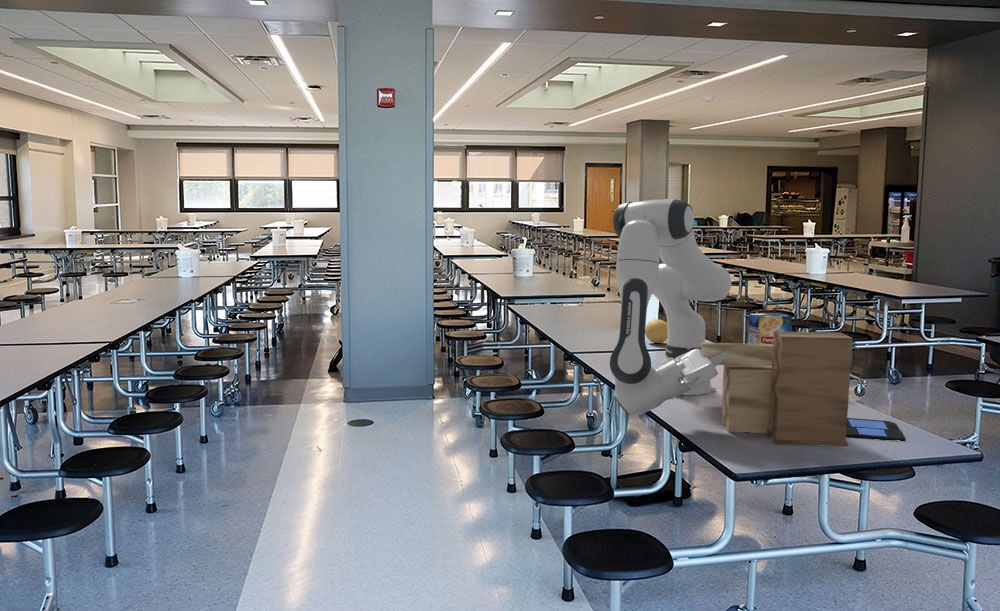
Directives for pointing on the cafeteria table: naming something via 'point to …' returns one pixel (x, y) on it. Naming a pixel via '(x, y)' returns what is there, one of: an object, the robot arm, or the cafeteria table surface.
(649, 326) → the stress ball
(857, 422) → the game console
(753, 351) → the maple batten
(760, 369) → the oak stand
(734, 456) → the cafeteria table surface
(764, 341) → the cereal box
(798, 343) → the walnut block
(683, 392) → the robot arm
